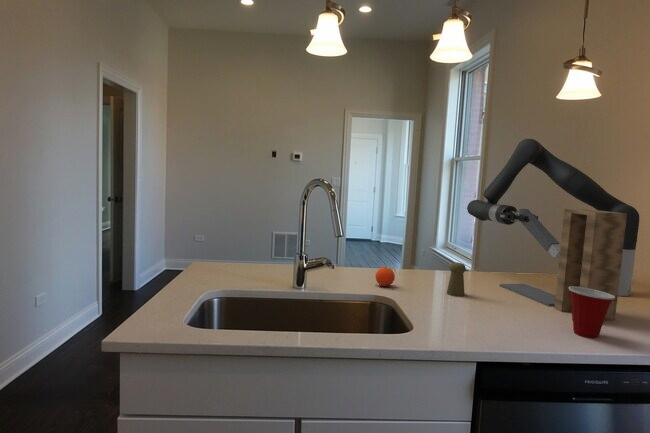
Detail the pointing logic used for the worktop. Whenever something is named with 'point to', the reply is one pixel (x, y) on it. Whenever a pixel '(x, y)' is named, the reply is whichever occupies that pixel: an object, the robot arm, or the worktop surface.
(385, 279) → the clementine
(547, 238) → the grey bar
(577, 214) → the walnut shelf
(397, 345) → the worktop surface
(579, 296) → the plastic cup
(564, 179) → the robot arm
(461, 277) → the cork
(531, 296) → the rubber mat
